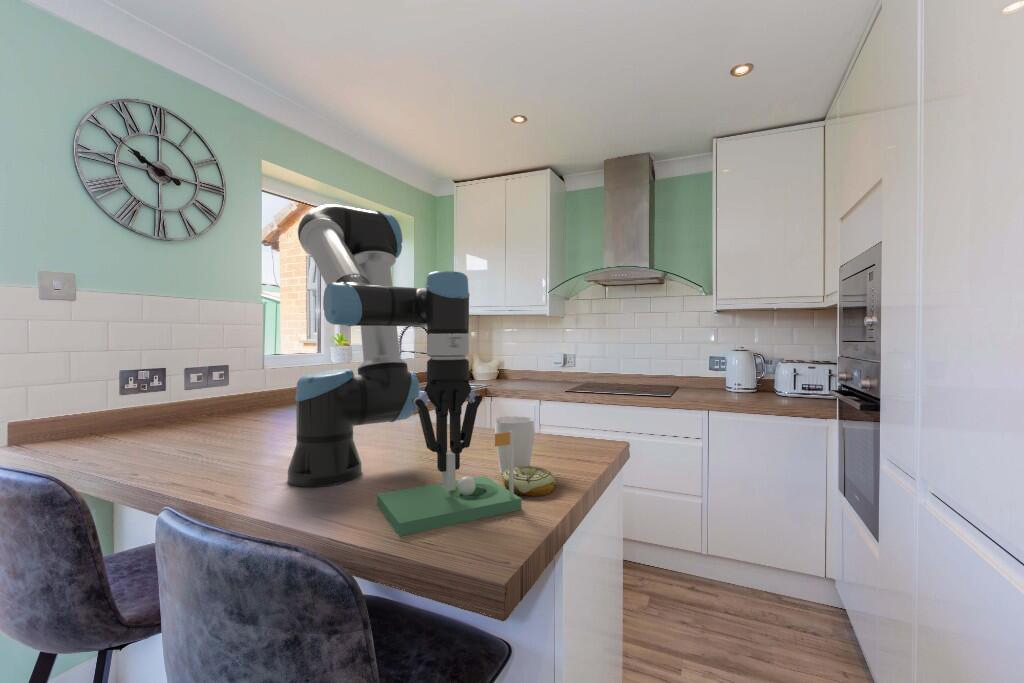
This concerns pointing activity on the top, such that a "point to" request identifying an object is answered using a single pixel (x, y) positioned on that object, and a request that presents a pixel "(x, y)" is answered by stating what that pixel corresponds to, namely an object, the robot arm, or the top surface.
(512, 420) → the cup
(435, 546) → the top surface
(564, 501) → the top surface
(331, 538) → the top surface
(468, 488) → the ball
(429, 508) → the green
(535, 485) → the decorated donut
